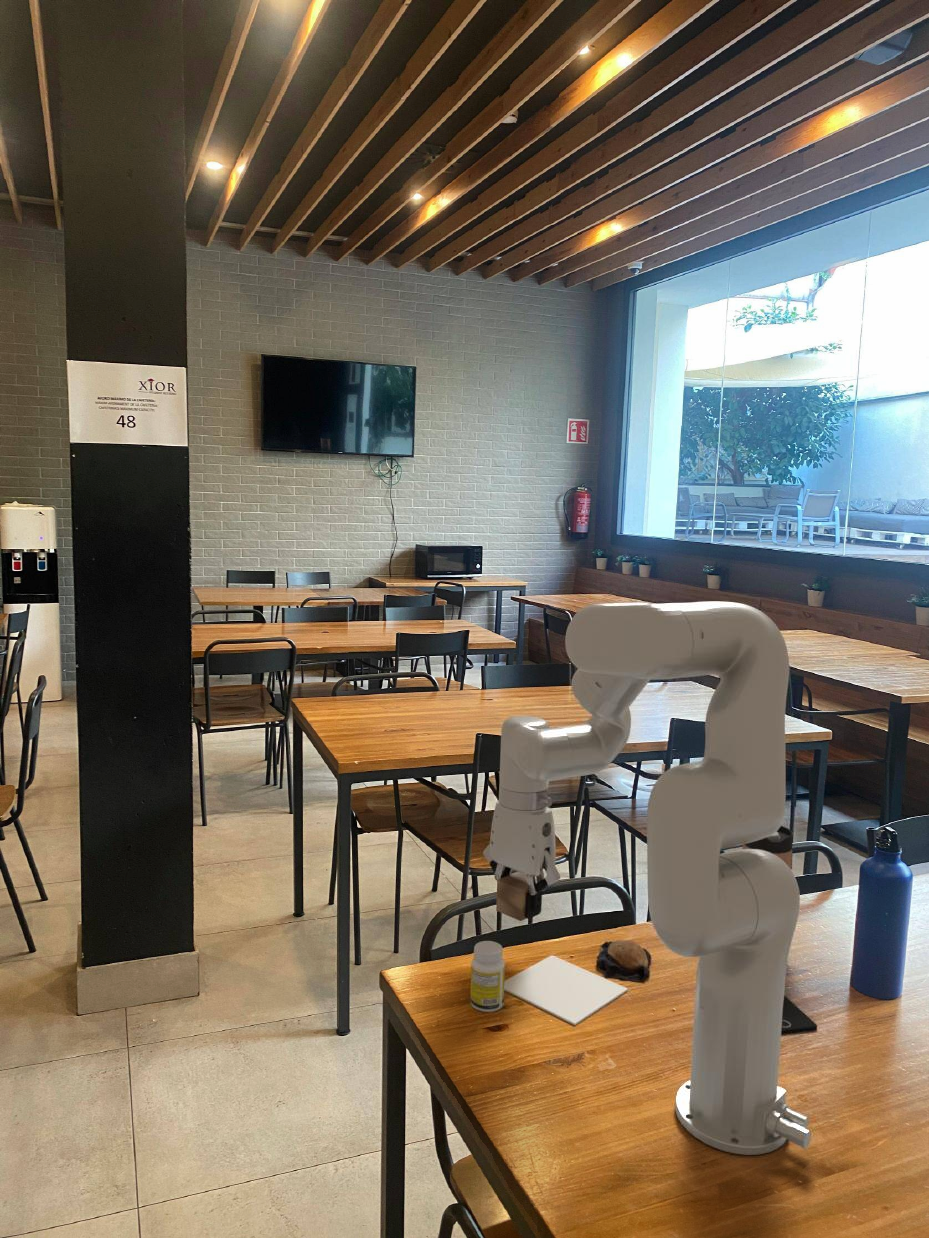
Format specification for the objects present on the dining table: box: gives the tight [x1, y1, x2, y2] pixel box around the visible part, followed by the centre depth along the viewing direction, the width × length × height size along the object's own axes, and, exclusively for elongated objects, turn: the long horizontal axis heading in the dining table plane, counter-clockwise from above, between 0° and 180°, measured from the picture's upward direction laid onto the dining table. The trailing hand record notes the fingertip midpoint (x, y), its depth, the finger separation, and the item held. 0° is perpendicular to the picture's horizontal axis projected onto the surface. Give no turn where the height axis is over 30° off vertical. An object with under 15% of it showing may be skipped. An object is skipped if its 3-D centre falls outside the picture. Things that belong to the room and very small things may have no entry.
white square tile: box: [504, 954, 629, 1026], centre depth 130 cm, size 14×13×1 cm
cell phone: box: [781, 994, 818, 1035], centre depth 129 cm, size 9×18×1 cm, turn 13°
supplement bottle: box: [470, 940, 506, 1013], centre depth 125 cm, size 5×5×8 cm
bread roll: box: [596, 939, 652, 983], centre depth 138 cm, size 11×8×4 cm
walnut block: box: [495, 871, 537, 922], centre depth 139 cm, size 5×5×5 cm
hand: (518, 908), depth 139 cm, fingers closed on walnut block, 5 cm apart
